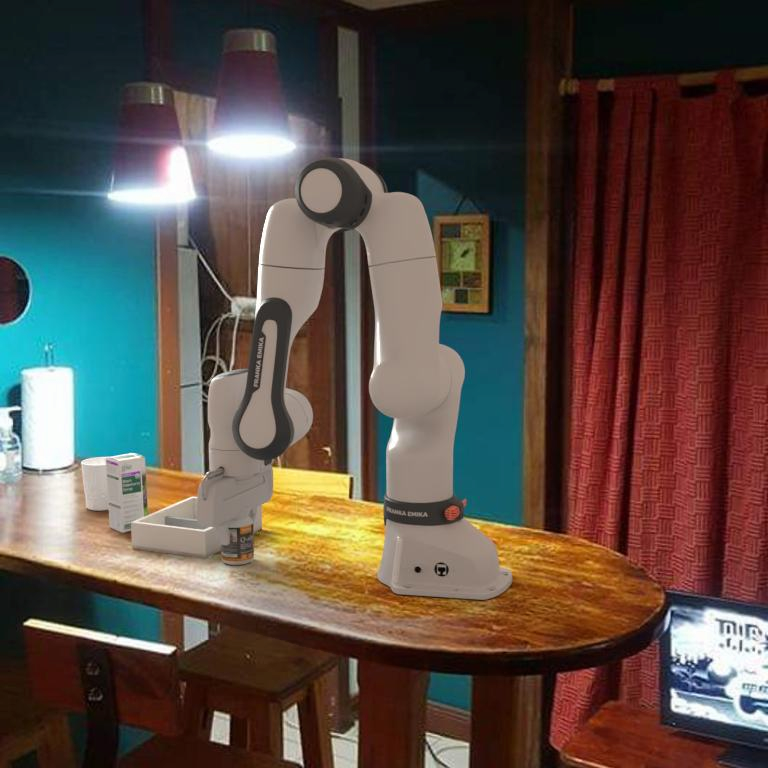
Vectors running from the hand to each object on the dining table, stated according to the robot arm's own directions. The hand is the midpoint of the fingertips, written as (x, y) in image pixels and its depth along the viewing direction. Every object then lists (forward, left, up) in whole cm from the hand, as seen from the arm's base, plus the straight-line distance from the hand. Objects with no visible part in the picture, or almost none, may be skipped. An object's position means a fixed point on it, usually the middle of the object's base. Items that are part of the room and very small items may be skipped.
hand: (237, 538), depth 183 cm
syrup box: (+31, -10, -4) cm, 33 cm away
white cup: (+46, -21, -4) cm, 51 cm away
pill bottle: (0, 0, -4) cm, 4 cm away
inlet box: (+14, -9, -4) cm, 17 cm away
